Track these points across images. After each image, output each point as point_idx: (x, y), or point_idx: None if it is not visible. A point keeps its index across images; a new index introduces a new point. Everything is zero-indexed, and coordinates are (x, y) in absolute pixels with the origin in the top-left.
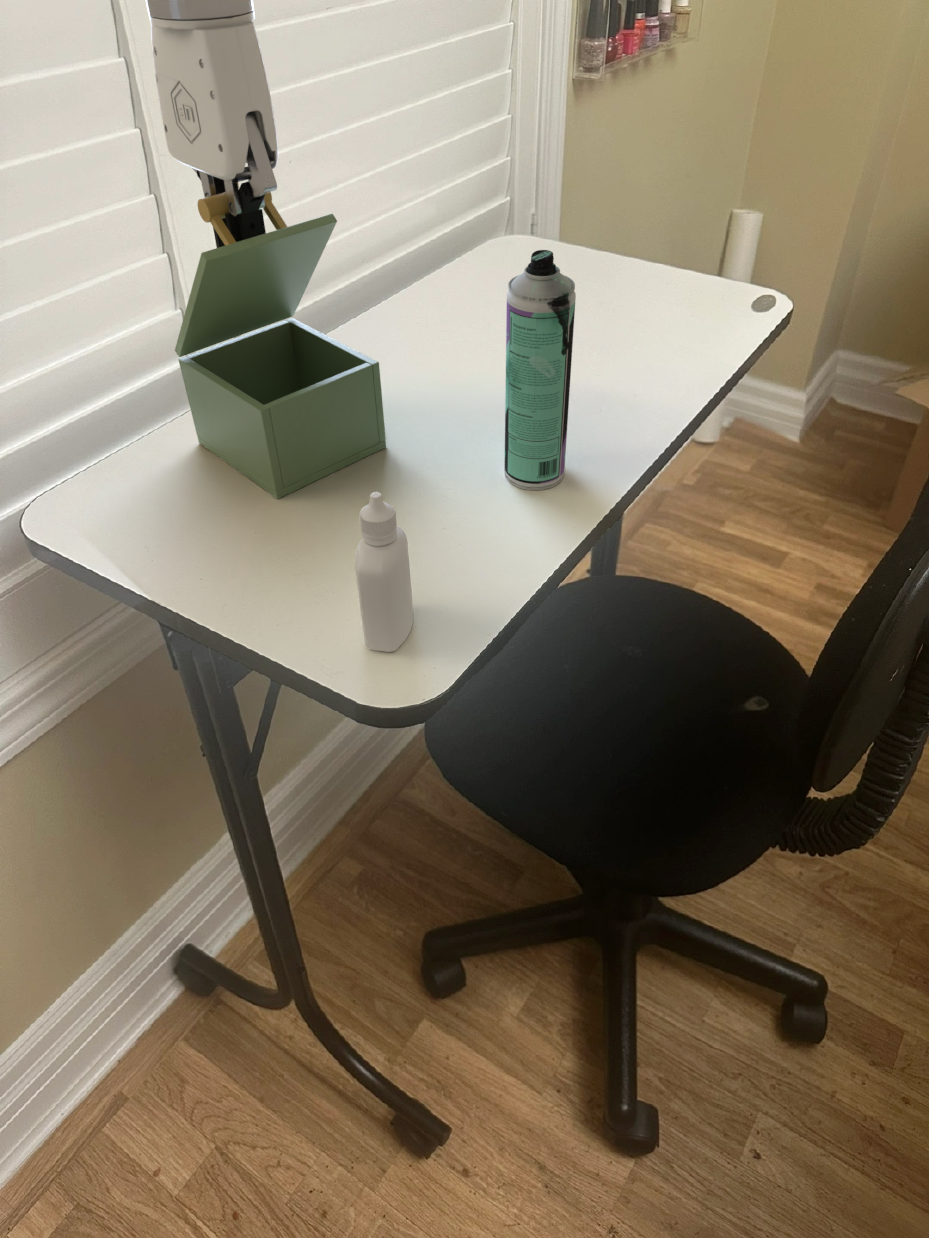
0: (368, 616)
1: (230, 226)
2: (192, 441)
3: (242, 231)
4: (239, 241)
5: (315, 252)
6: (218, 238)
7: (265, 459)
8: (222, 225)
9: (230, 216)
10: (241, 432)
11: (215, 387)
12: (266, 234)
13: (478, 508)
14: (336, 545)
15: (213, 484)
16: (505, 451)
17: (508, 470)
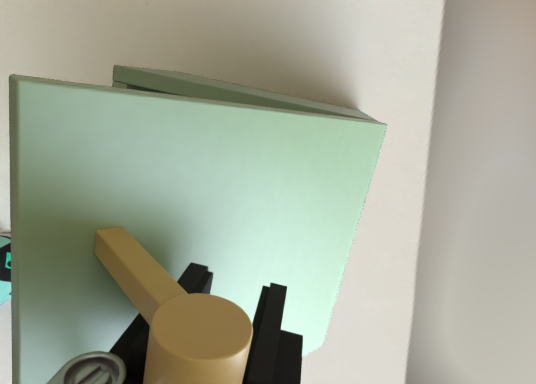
0: None
1: (147, 323)
2: (371, 109)
3: (138, 334)
4: (18, 238)
5: None
6: (265, 311)
7: (166, 71)
8: (136, 299)
9: (131, 353)
10: (213, 82)
11: (255, 94)
12: (16, 328)
13: (9, 182)
14: (62, 43)
15: (267, 48)
16: (3, 254)
17: (9, 241)
